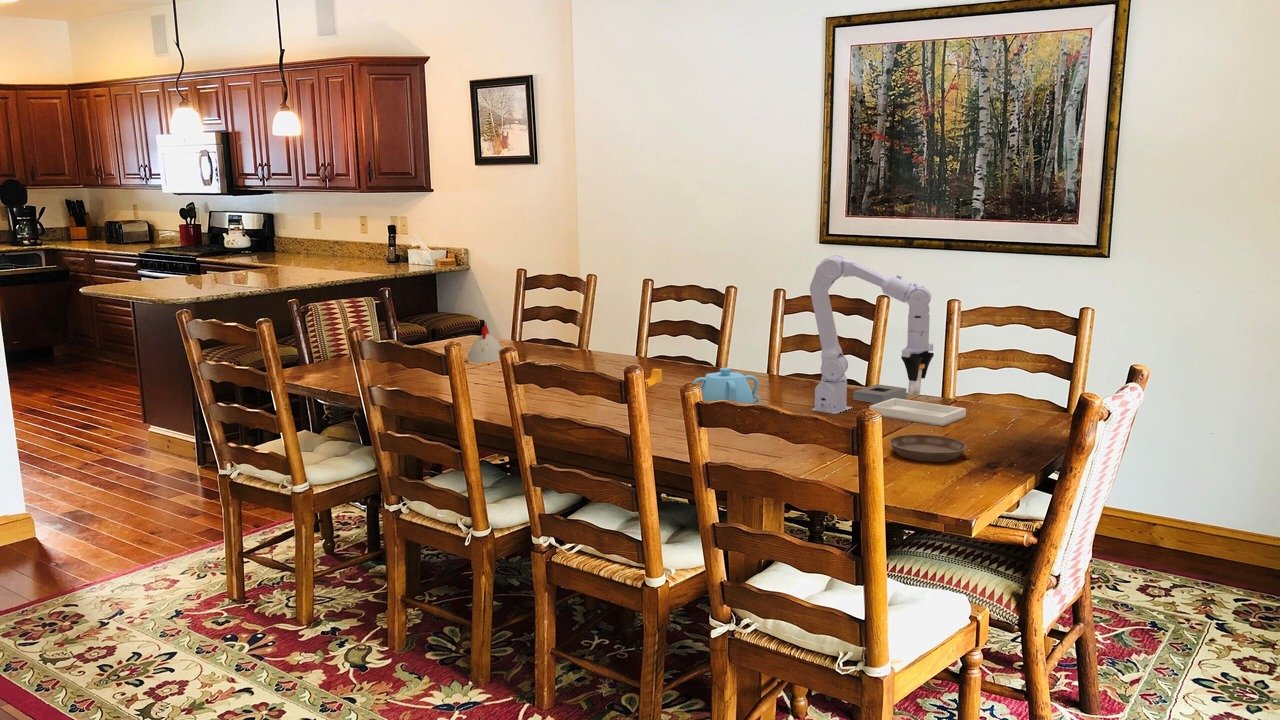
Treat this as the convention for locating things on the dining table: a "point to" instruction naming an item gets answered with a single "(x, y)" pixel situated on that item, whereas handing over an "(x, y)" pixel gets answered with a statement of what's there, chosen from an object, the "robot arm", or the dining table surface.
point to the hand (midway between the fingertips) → (916, 379)
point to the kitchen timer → (484, 348)
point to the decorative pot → (728, 386)
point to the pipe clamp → (654, 377)
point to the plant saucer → (927, 447)
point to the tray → (919, 411)
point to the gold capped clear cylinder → (916, 382)
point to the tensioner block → (879, 393)
